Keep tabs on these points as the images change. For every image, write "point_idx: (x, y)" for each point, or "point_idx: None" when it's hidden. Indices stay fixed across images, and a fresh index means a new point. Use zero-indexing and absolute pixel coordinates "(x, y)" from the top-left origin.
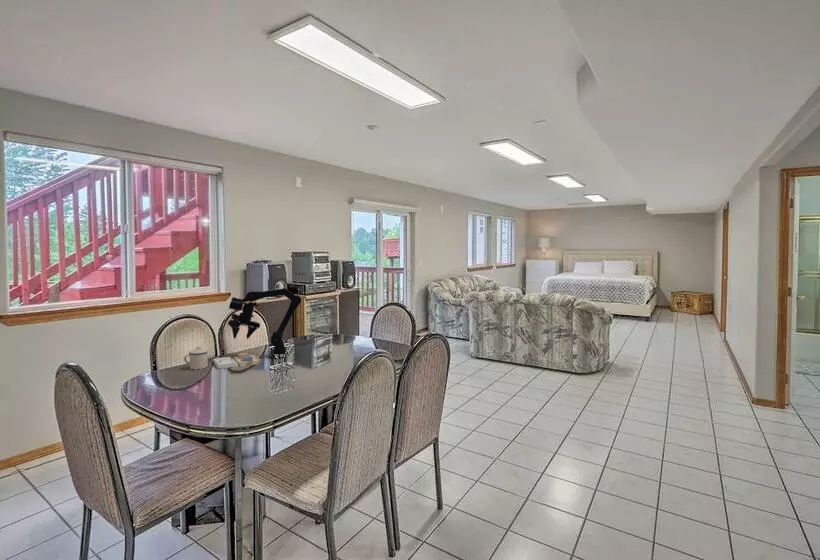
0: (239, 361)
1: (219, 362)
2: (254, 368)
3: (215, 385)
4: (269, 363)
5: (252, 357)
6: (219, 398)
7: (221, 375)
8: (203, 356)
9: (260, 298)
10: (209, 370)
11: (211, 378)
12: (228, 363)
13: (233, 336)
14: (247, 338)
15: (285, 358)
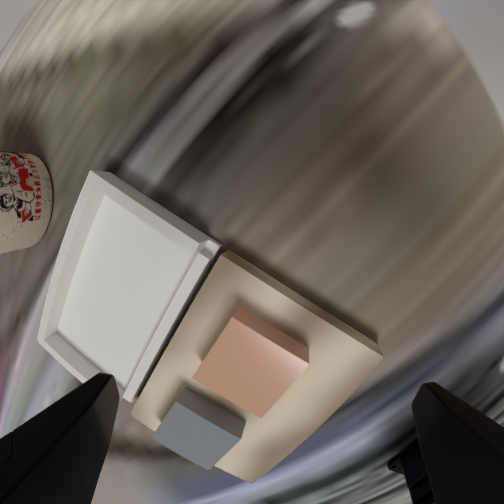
0: (151, 397)
1: (115, 227)
2: (165, 473)
3: (7, 426)
4: (277, 490)
5: (207, 467)
6: None
7: (35, 397)
8: None
9: None
10: (27, 297)
11: (8, 382)
12: (76, 375)
13: (80, 390)
14: (413, 405)
15: (404, 486)
